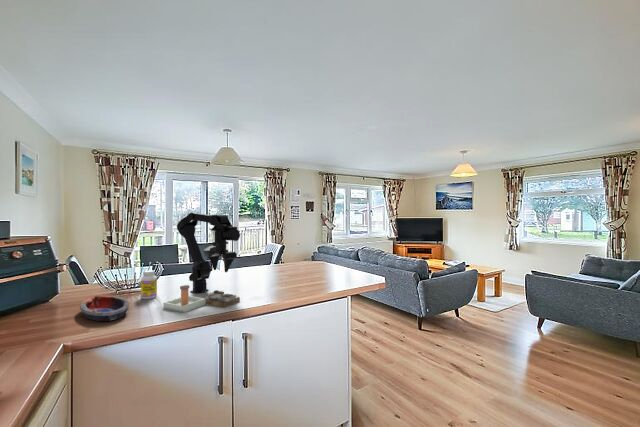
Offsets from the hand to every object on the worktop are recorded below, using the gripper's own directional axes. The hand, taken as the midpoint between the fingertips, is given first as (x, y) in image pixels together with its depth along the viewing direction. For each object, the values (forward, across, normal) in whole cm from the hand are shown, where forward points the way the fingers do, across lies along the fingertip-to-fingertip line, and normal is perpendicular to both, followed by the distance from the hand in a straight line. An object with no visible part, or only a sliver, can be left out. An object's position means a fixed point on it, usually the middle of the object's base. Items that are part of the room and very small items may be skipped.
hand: (220, 271), depth 146 cm
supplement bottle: (+12, -25, -23) cm, 36 cm away
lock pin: (+11, +2, -20) cm, 23 cm away
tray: (+12, +2, -20) cm, 23 cm away
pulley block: (+12, +10, -7) cm, 17 cm away
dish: (+13, -17, -44) cm, 48 cm away
